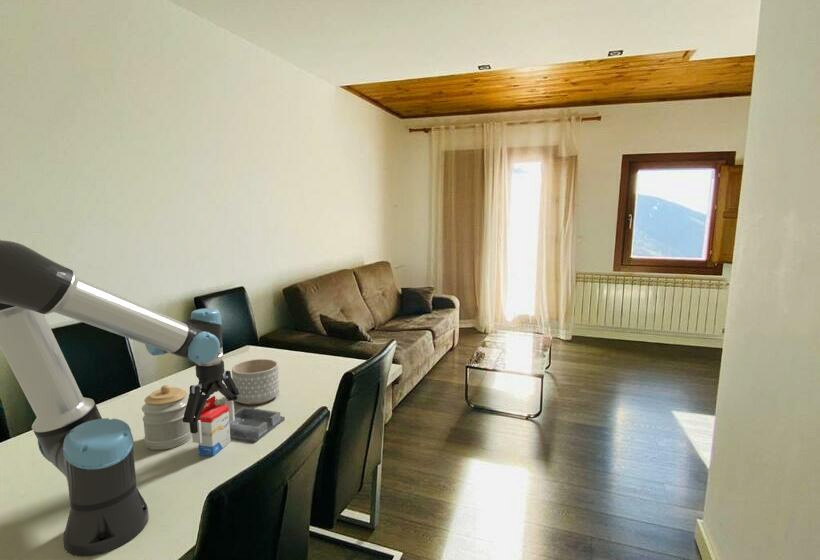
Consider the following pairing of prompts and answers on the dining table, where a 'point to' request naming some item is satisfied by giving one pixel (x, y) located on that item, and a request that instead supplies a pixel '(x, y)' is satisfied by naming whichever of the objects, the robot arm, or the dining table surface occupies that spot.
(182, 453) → the dining table surface
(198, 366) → the robot arm
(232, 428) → the fixture tray
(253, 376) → the planter
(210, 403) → the ink box
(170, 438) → the jar
